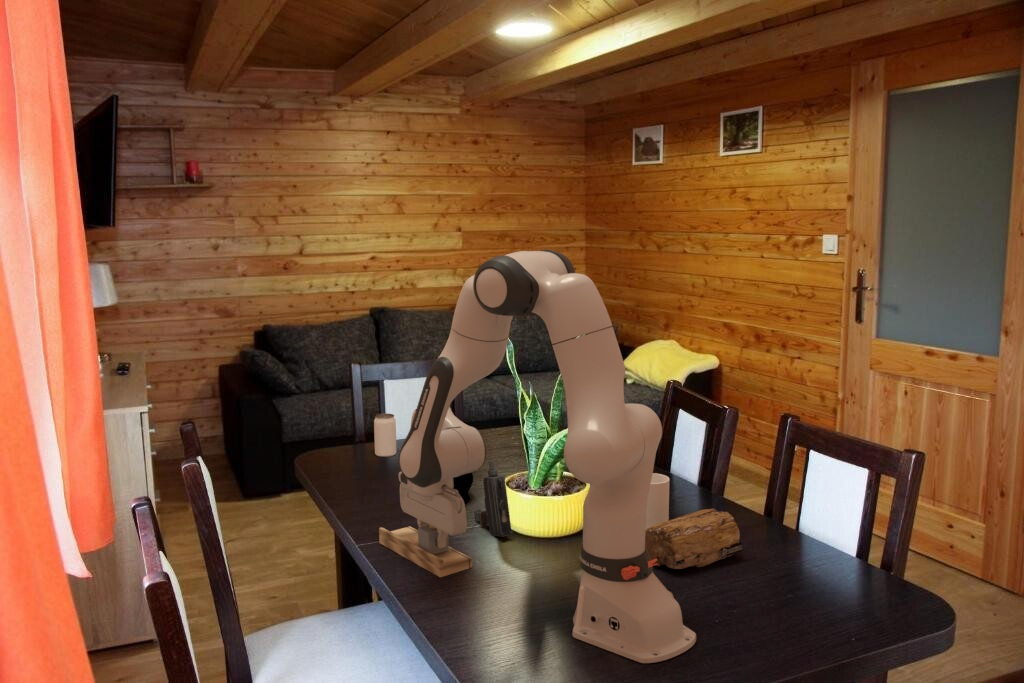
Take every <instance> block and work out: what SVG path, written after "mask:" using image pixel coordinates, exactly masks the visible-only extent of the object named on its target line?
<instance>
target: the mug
mask: <svg viewBox="0 0 1024 683" xmlns="http://www.w3.org/2000/svg"><path fill="white" fill-rule="evenodd" d="M669 506H670V477H669V476H667V475H665V474H662V473H657V472H655V473H654V472H653V474H652V479H651V484H650V488H649V493H648V499H647V507H646V529H648V528H650V527H651V526H654V525H656V524H658V523H662V522H666V521H670V516H669V514H670V511H669V509H670V507H669Z"/></svg>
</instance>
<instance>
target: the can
mask: <svg viewBox="0 0 1024 683" xmlns="http://www.w3.org/2000/svg"><path fill="white" fill-rule="evenodd" d="M396 422H397V421H396V418H395V415H394V414H392V413H379V414H376V415H375V417H374V420H373V428H374V429H373V434H374V435H373V436H374V439H373V440H374V455H375V456H377V457H379V458H390V457H394V456H395V455H396V454H397V425H396V424H397V423H396Z"/></svg>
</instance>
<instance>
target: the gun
mask: <svg viewBox="0 0 1024 683" xmlns="http://www.w3.org/2000/svg"><path fill="white" fill-rule="evenodd" d="M495 466H496V465H495V460H493V459H492V460H489V461H488V468H489V470H488V471H487V475H488V476H484V477H483V483H482V484H483V492H484V507H485V510H482V509H475V510H474V511H473V513H474V514H473V515H474V521H475V522H476V523H479V524H480V525H481V526H488V530H489V532H490V535H491V536H496V537H503V538H504V537H505V536H506V537H507V536H512V535H513V536H514V532H513V531H512V523H511V516H510V508H509V507H510V506H509V502H508V499H509V498H508V494H507V493H508V492H507V485H506V478H505V475H498V470H497V469H496V467H495Z"/></svg>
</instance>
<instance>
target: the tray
mask: <svg viewBox="0 0 1024 683" xmlns="http://www.w3.org/2000/svg"><path fill="white" fill-rule="evenodd" d="M378 534H379V535H378V536H379V544H380V545H381V546H382V545H383V546H384V547H385V548H387V549H389V550H391V551H393V552H395V553H396V554H398V555H400V556H401V557H402V558H403V557H404V558H405V559H406V560H409V561H411V562H412V563H413V564H416V565H417V566H418V567H420V568H423V569H424V570H427V571H428V572H429V573H432V574H433V575H435V576H437V577H438V578H444V577H447V576H449V575H453V574H456V573H459V572H462V571H466V570H468V569H472V568H473V558H472V557H471V556H468V555H467V554H465V553H462V552H461V551H459V550H457V549H454V548H453V547H451V546H449V550H448V551H445V552H442V553H438V554H435V555H433V554H431V553H429V552H427V551H425V550H424V549H422V548H420V547H418V529H417V528H414V527H412V526H410V525H409V526H406V527H402V528H398V529H394V530H391V531H390V530H388V529H386V528H385V527H379V528H378Z"/></svg>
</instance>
